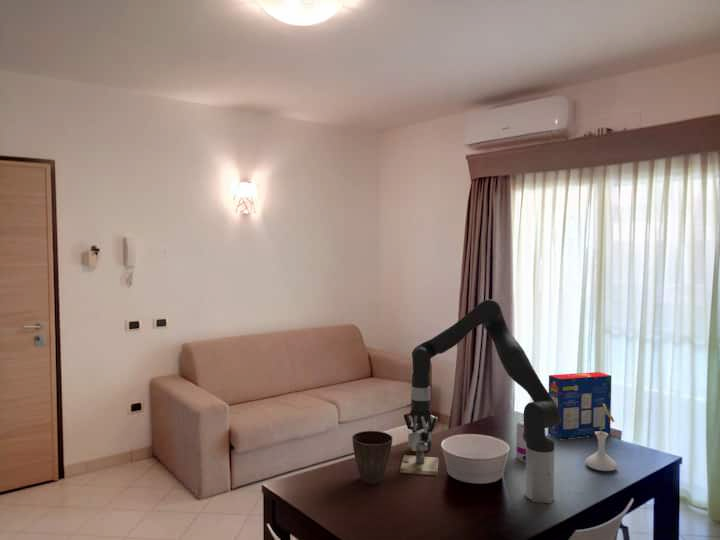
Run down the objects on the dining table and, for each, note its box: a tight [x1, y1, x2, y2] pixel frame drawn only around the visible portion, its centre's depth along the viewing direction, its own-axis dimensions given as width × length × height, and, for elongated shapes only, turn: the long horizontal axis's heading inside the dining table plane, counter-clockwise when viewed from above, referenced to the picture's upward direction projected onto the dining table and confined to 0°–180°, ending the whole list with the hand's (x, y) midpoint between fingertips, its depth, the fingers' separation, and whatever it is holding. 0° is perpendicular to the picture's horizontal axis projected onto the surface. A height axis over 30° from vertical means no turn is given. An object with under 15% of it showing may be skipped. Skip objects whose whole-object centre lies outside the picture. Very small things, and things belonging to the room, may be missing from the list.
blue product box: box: [547, 371, 612, 441], centre depth 246 cm, size 28×8×28 cm, turn 106°
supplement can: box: [515, 419, 526, 462], centre depth 216 cm, size 8×8×15 cm
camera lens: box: [412, 418, 432, 453], centre depth 226 cm, size 8×8×15 cm
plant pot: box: [351, 430, 394, 485], centre depth 194 cm, size 15×15×16 cm
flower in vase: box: [584, 403, 618, 472], centre depth 208 cm, size 13×11×25 cm
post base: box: [399, 451, 440, 476], centre depth 207 cm, size 14×14×7 cm
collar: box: [407, 429, 433, 453], centre depth 207 cm, size 12×6×7 cm, turn 135°
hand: (420, 440), depth 207 cm, fingers closed on collar, 3 cm apart
